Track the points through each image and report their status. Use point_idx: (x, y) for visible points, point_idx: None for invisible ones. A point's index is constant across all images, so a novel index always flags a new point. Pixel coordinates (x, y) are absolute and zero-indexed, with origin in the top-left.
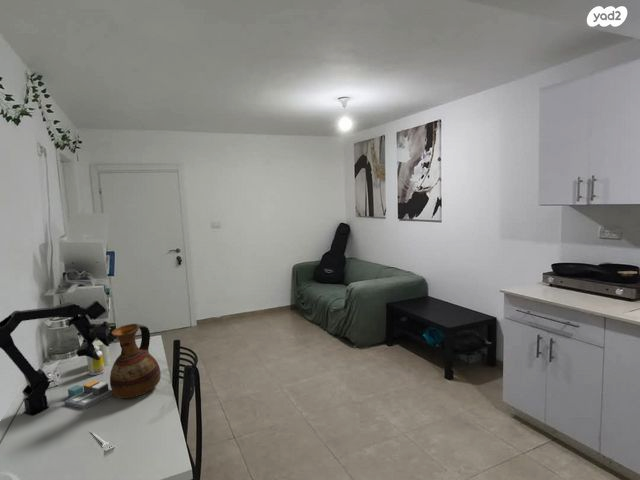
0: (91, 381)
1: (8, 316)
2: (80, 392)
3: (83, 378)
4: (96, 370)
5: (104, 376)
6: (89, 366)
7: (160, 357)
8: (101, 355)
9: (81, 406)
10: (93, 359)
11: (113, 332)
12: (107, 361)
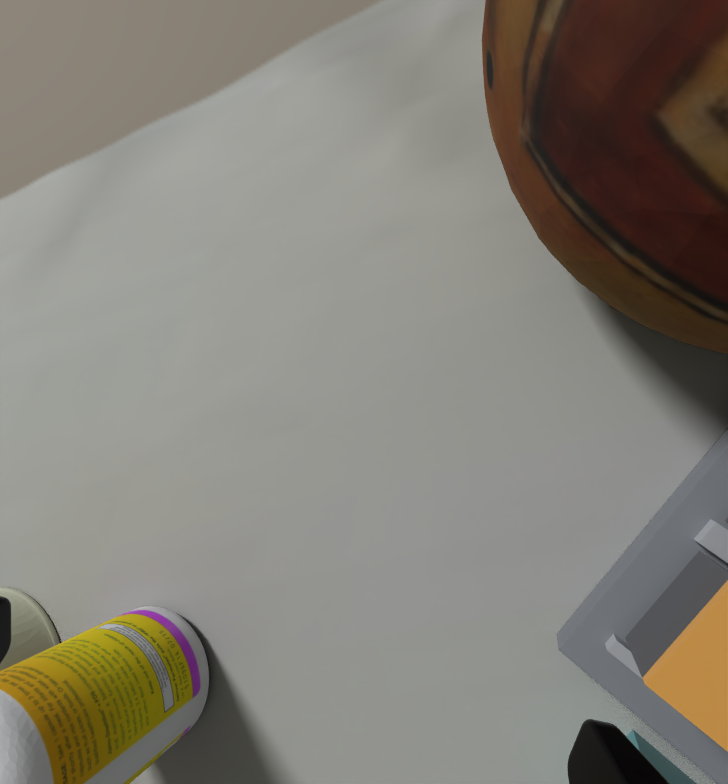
0: (684, 699)
1: None
2: (676, 780)
3: (238, 778)
4: (181, 680)
5: (266, 580)
6: (131, 780)
7: (63, 172)
8: (7, 690)
9: None
10: (72, 780)
11: None
12: None
